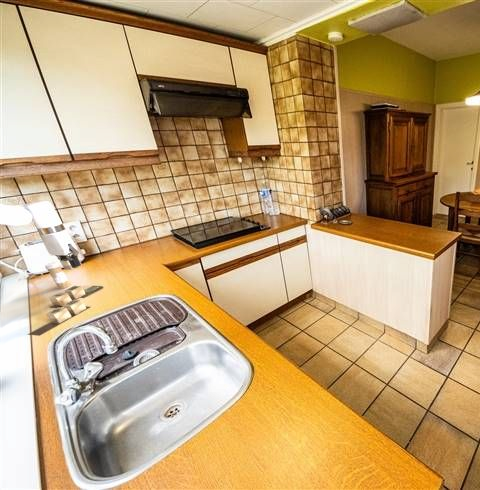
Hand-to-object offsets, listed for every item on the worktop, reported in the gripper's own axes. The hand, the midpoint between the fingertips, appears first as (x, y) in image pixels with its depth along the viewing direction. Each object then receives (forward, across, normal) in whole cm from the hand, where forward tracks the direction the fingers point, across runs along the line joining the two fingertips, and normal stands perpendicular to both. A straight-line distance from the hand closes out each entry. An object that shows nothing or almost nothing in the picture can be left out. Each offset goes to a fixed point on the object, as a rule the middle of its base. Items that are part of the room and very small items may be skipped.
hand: (72, 266), depth 122 cm
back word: (+15, -1, -4) cm, 16 cm away
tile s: (+1, 0, 0) cm, 1 cm away
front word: (+15, +13, -19) cm, 27 cm away
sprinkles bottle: (+16, -21, +4) cm, 27 cm away
